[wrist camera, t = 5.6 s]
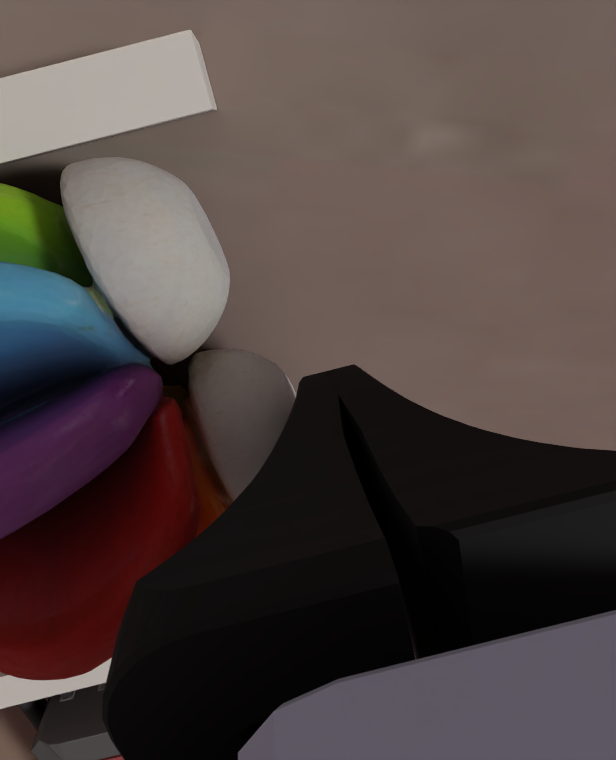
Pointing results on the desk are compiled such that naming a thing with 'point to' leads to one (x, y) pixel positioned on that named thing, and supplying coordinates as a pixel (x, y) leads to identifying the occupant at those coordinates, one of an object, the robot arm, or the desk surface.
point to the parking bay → (87, 124)
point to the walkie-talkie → (71, 726)
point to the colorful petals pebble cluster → (112, 404)
